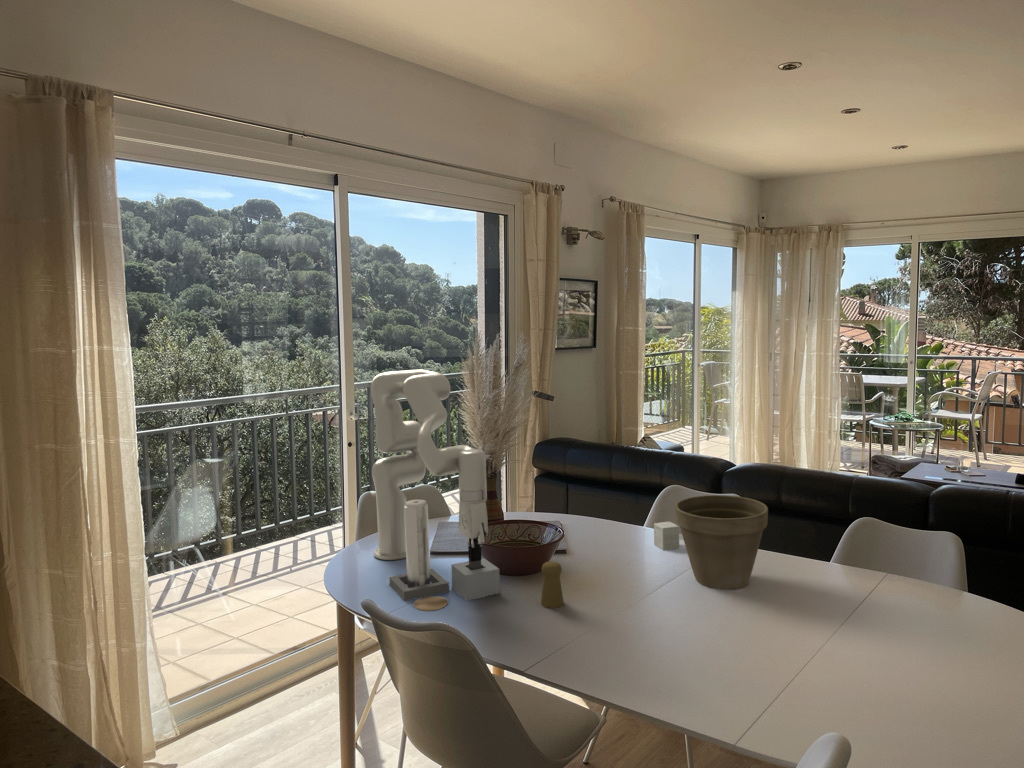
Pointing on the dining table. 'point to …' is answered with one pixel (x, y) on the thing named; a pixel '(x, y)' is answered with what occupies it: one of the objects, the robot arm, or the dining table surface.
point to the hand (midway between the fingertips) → (475, 559)
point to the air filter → (417, 543)
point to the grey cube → (666, 535)
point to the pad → (430, 603)
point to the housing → (475, 580)
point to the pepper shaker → (551, 585)
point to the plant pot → (721, 537)
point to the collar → (406, 593)
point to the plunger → (475, 565)
